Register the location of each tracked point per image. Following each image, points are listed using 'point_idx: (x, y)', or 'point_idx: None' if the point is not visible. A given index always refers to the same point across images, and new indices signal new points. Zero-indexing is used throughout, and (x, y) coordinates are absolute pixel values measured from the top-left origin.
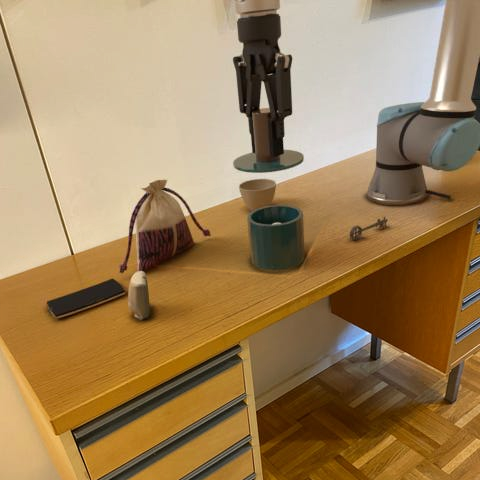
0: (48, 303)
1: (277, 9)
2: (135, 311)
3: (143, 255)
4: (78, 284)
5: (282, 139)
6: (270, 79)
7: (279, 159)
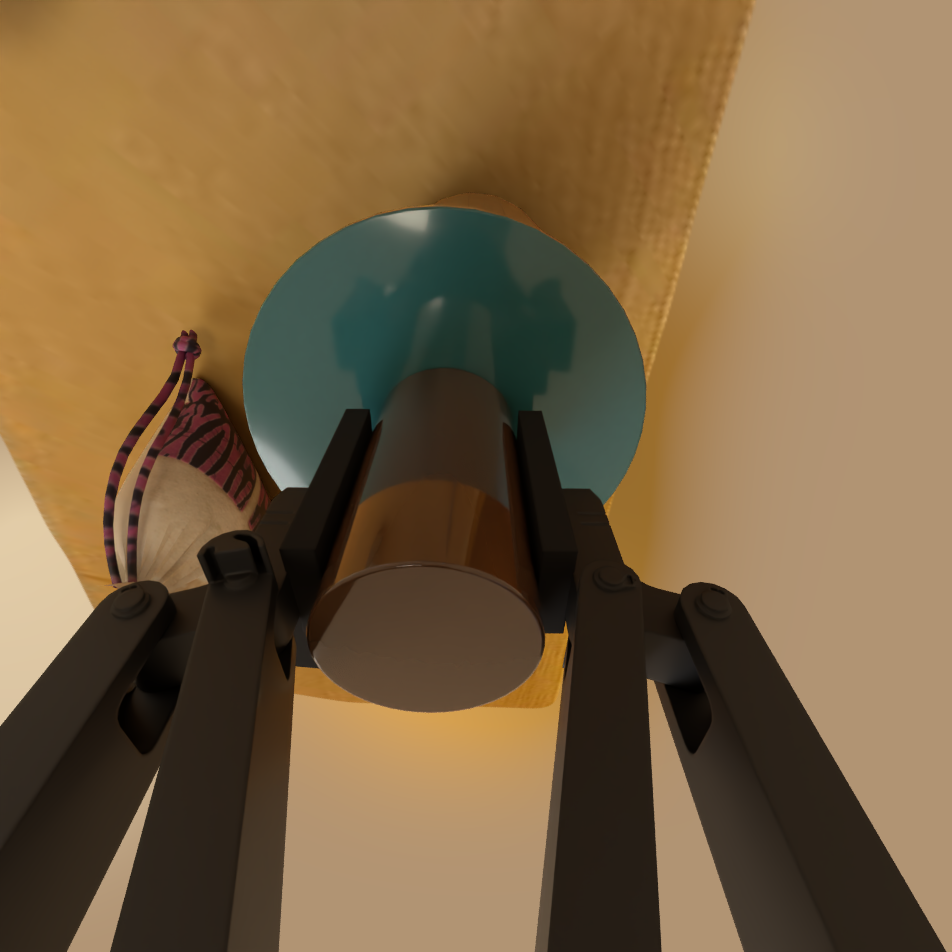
0: (302, 666)
1: None
2: None
3: None
4: None
5: (552, 460)
6: None
7: (513, 409)
